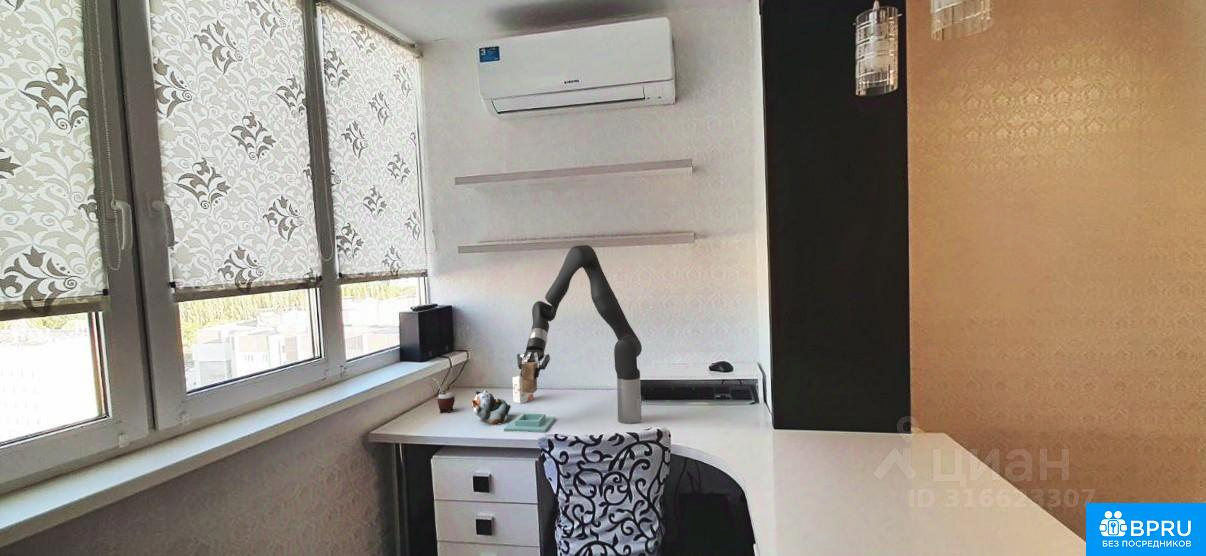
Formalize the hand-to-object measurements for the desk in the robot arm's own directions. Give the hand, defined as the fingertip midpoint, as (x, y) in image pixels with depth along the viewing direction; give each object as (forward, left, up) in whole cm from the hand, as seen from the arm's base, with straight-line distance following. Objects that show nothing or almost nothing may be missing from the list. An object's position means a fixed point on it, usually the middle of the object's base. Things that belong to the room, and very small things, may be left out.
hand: (529, 377), depth 188 cm
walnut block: (0, -1, -6) cm, 6 cm away
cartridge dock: (0, -1, -19) cm, 19 cm away
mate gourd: (+43, -15, -19) cm, 49 cm away
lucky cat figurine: (+18, -5, -19) cm, 26 cm away
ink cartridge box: (+14, -34, -19) cm, 41 cm away
